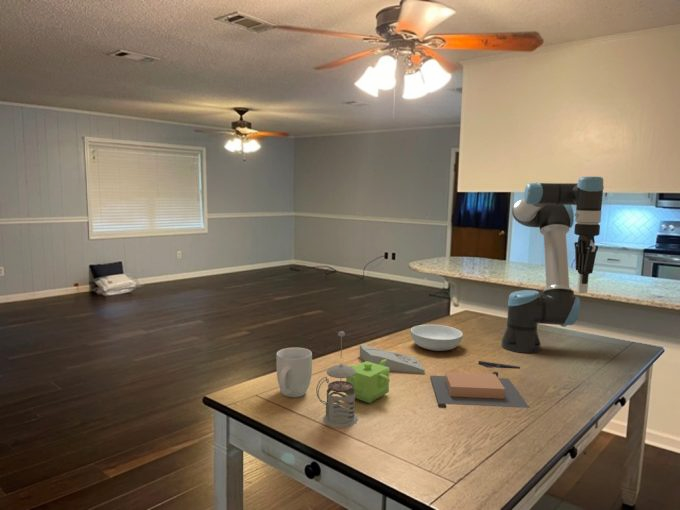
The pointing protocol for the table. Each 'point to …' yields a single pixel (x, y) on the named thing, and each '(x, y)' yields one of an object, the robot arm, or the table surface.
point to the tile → (474, 385)
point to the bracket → (489, 365)
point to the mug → (294, 371)
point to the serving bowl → (436, 337)
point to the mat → (444, 398)
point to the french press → (335, 412)
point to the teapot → (370, 381)
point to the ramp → (391, 360)
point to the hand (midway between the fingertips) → (582, 292)
